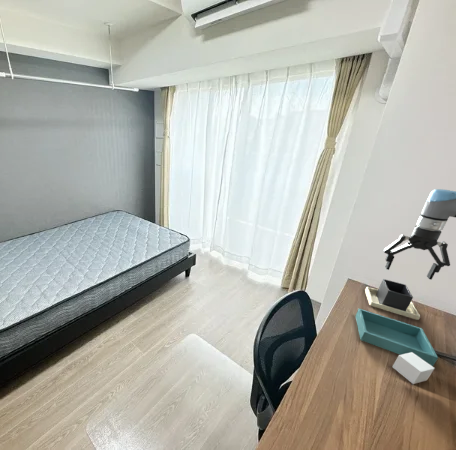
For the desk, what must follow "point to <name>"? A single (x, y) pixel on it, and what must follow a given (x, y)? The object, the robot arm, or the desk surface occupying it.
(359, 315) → the tray
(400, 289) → the small bin
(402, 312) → the tray
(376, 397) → the desk surface
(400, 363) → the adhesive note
